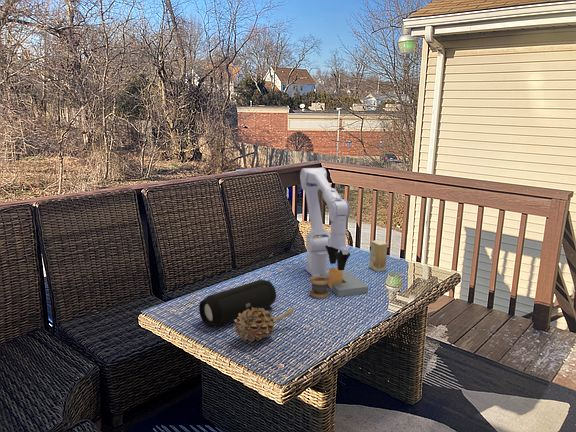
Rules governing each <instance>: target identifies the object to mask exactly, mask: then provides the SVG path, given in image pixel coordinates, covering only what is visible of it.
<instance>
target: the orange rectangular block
mask: <svg viewBox="0 0 576 432" xmlns="http://www.w3.org/2000/svg"><path fill="white" fill-rule="evenodd" d="M343 271H344V270H340V271H339V270H338V267H330V268H328V272H329V283H328V284H327V287H329V288H330V289H331V290H332V284H339V283H342V275H343Z"/></svg>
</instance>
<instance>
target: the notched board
mask: <svg viewBox="0 0 576 432" xmlns="http://www.w3.org/2000/svg"><path fill="white" fill-rule="evenodd" d="M342 271H343V275H342V283H339V284H332V289H331V291H332V292H333V293H334V294H335V295H336V296H337V297H346V296H354V295H362V294H363V293H364V294H369V285H367V284H366V283H364V282H363V281H362V280H361V279H360V278H358V277H357V276H355V275H354V274H353V273H352V272H350V271H349V270H342ZM320 276H325V277H328V278H329V273H320Z"/></svg>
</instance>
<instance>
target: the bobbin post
mask: <svg viewBox="0 0 576 432" xmlns="http://www.w3.org/2000/svg"><path fill="white" fill-rule="evenodd" d="M309 283H310V284H311V289H310V290H309V296H310V297H312V298H315V299H316V298H317V299H326V298H327V297H329V295H330V292H329V289H328V283H329V278H328V277H325V276H311V277H310V278H309Z"/></svg>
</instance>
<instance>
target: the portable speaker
mask: <svg viewBox="0 0 576 432" xmlns="http://www.w3.org/2000/svg"><path fill="white" fill-rule="evenodd" d="M276 299H277V291H276V288H275V286H274V284H273V283H272V282H271V281H269V280H268V279H258V280H255V281H251V282H248V283H245V284H242V285H239V286H236V287H232V288H228V289H227V290H223V291H219V292H216V293H213V294H209V295H207V296H206V297H205V298H204V299H202V300H201V301H200V303H199V305H198V311H199V317H200V318H201V320H202V322H203V323H204V324H205V326H208V327H219V326H223V325H224V324H227V323H230V322H232V321H234V320H235V319H237V317H239V313H243V312H244V311H246V310H247V309H249V310H251V309H252V307H253V308H257V310H258V309H259V308H260V309H262V308H263V309H267V308H269V307H271V306H272V305H273V304H274V303H275V301H276Z"/></svg>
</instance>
